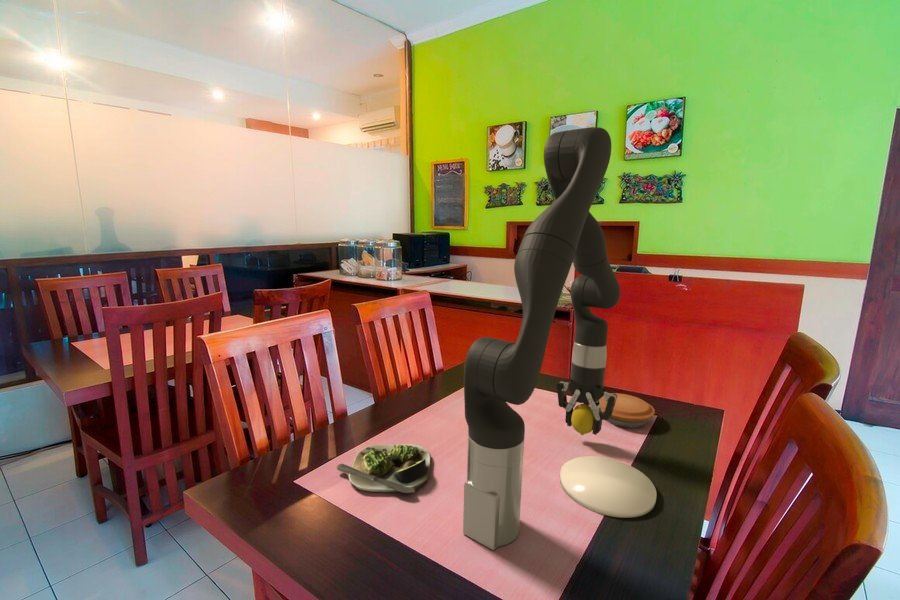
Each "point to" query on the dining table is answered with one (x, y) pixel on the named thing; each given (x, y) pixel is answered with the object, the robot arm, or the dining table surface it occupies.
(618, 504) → the saucer
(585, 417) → the lemon
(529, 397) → the robot arm
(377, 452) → the salad plate
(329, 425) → the dining table surface
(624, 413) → the pie
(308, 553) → the dining table surface
